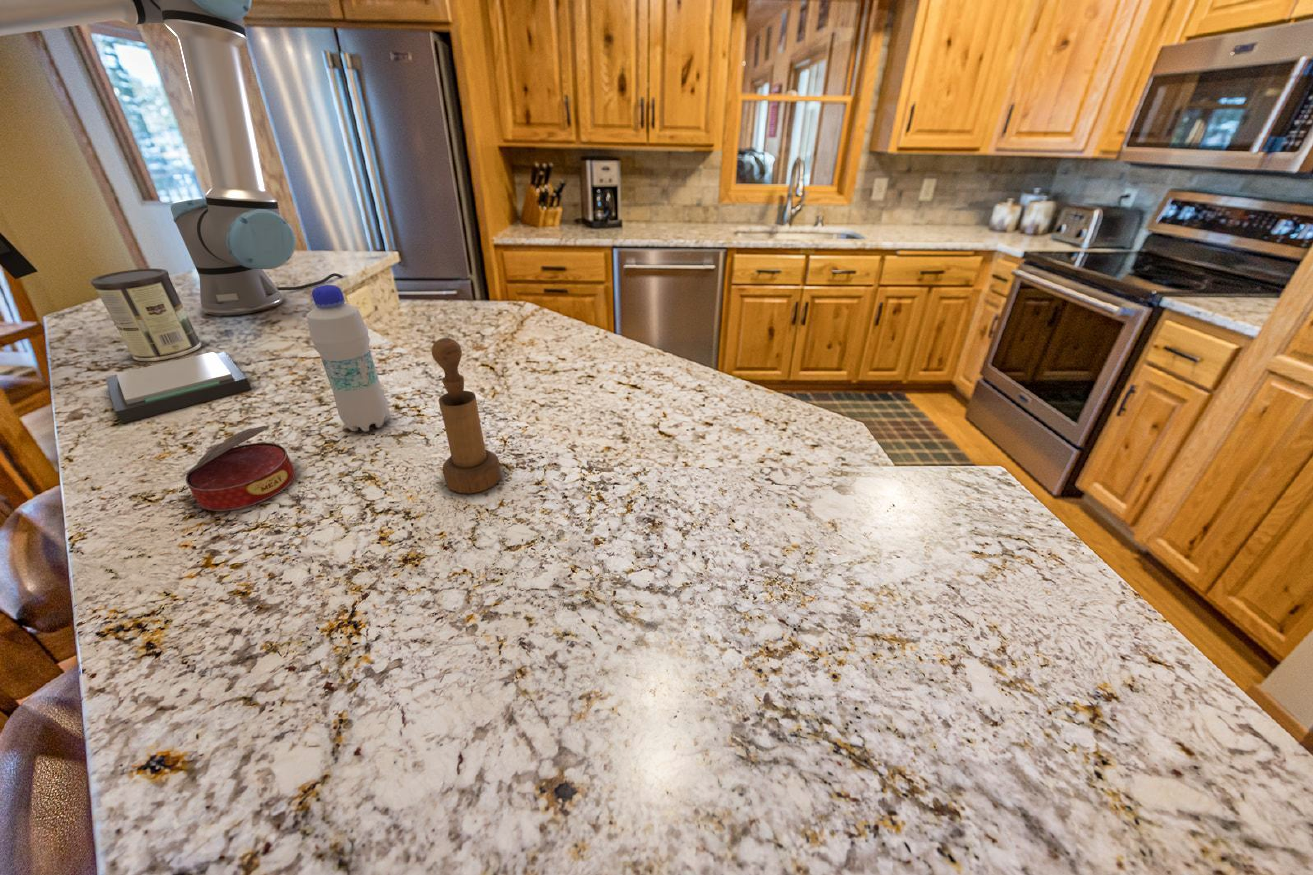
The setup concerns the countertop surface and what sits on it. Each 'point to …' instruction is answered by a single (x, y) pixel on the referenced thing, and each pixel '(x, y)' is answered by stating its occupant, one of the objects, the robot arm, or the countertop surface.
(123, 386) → the scale
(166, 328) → the coffee can
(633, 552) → the countertop surface
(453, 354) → the mortar and pestle
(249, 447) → the canned food
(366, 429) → the bottle
